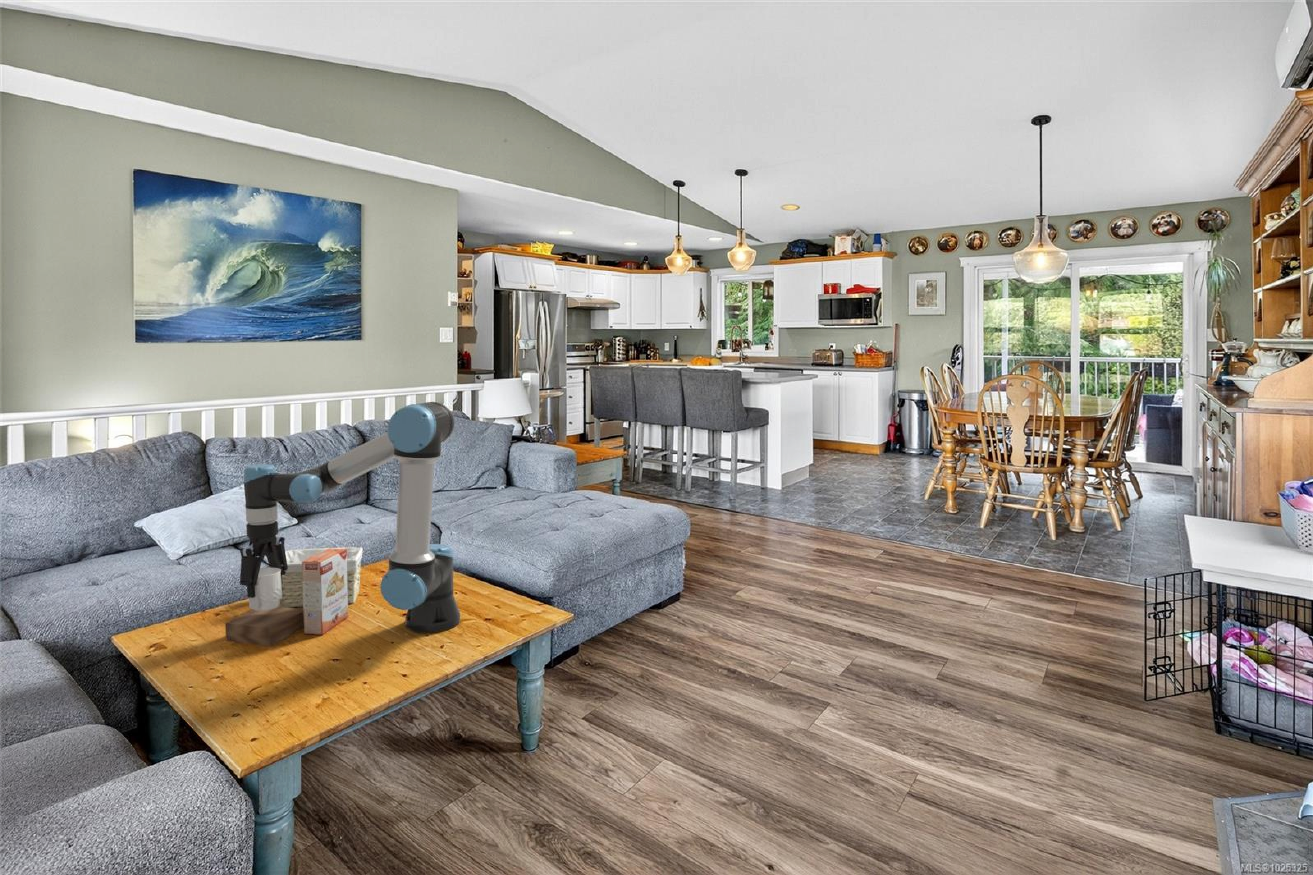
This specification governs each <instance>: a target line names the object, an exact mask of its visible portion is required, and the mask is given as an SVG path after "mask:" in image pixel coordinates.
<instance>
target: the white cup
mask: <svg viewBox="0 0 1313 875" xmlns="http://www.w3.org/2000/svg"><path fill="white" fill-rule="evenodd" d="M251 581H252V580H251ZM256 585H259V597H260V608H259V609H253V608H251V609H252V611H253V610H256V611H266V610H271V609H275V608H277V607H279V605H280V588H281V570H280V569H279V568H272V567H260V570H259V574H258V579H257V583H256Z"/></svg>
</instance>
